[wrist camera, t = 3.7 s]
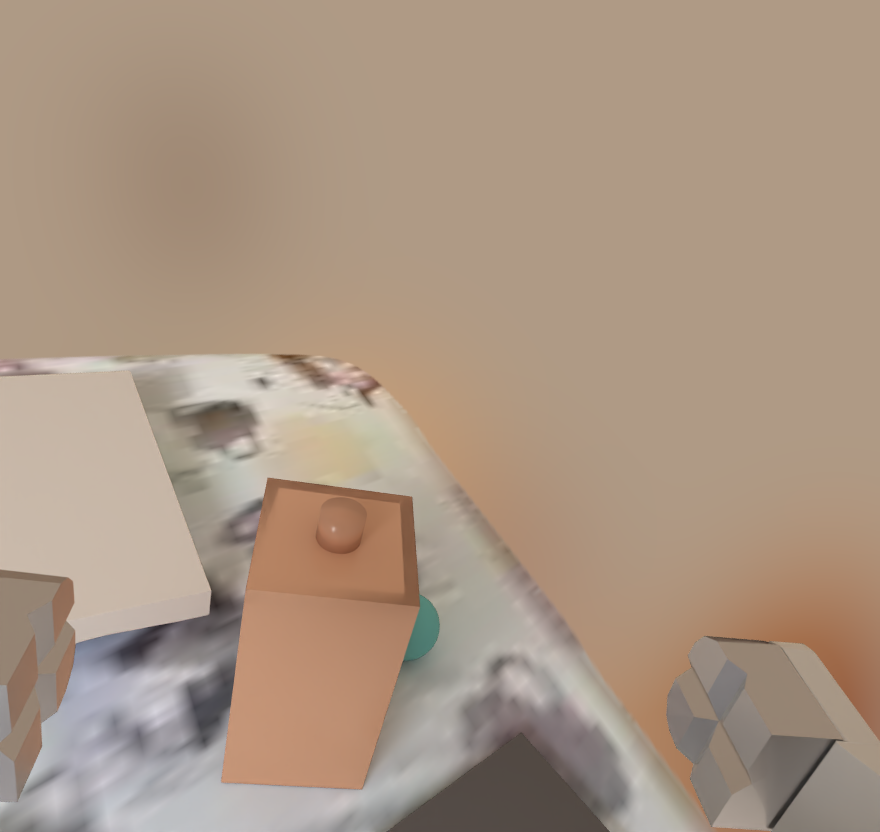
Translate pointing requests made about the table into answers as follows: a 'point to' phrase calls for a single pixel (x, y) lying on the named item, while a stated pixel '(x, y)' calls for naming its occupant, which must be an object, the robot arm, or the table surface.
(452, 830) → the mat
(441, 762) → the table surface
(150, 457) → the cream flat block
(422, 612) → the ball
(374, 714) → the tan box with knob
